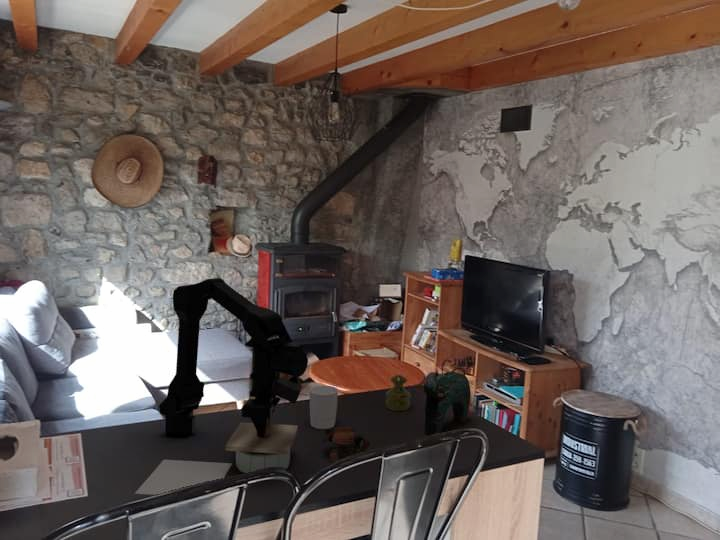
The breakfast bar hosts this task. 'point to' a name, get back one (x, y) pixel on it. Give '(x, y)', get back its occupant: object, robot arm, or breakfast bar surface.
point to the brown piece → (345, 442)
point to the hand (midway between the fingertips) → (263, 433)
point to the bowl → (260, 460)
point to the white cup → (323, 406)
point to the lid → (263, 438)
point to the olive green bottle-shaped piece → (398, 395)
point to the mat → (181, 475)
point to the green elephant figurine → (445, 398)
